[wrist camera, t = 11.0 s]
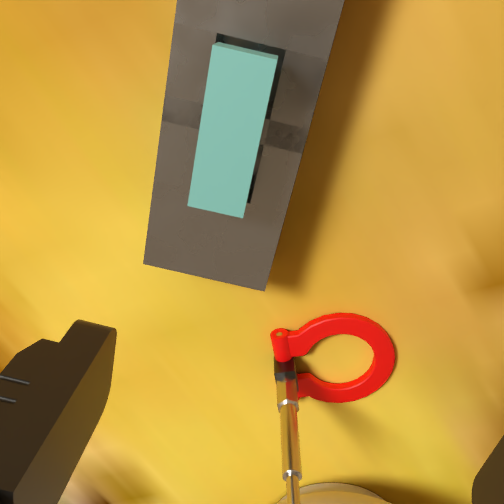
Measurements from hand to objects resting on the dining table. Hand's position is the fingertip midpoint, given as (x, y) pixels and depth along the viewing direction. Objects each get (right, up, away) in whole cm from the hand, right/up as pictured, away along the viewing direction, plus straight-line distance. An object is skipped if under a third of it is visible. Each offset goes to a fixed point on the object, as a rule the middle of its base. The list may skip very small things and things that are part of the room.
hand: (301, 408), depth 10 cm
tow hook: (+6, -5, +29) cm, 29 cm away
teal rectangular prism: (-2, +12, +20) cm, 23 cm away
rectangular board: (-2, +12, +20) cm, 23 cm away
